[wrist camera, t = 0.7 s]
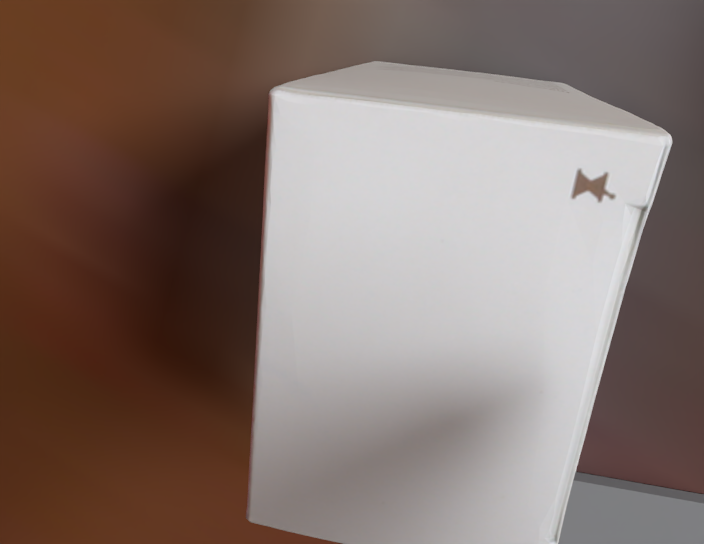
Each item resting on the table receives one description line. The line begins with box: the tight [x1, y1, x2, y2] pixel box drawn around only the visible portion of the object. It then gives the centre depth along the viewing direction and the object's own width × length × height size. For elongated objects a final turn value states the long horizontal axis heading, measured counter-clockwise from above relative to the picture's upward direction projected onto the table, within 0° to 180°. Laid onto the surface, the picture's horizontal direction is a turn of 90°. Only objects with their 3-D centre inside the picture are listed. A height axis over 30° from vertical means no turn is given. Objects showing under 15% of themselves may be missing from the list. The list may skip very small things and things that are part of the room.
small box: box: [246, 61, 672, 544], centre depth 15 cm, size 8×6×10 cm
